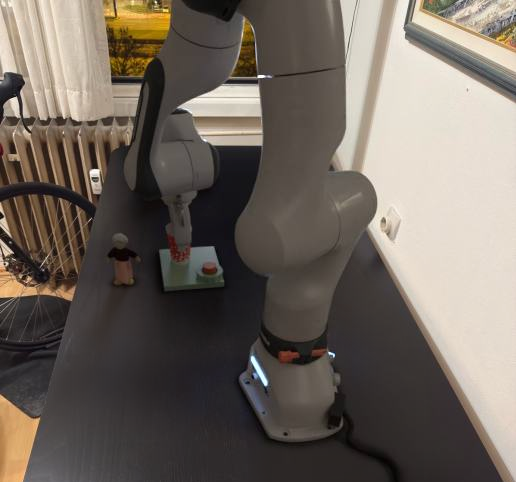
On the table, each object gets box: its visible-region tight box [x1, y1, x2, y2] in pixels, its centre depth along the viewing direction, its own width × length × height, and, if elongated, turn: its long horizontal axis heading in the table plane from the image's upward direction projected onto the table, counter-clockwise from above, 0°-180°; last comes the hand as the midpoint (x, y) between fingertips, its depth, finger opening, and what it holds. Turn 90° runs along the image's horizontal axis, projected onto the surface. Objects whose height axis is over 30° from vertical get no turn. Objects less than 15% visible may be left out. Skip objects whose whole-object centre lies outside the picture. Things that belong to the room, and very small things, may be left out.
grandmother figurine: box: [105, 232, 142, 286], centre depth 108 cm, size 8×4×13 cm, turn 105°
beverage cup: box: [165, 222, 193, 265], centre depth 113 cm, size 6×6×14 cm
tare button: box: [203, 261, 216, 275], centre depth 113 cm, size 3×3×2 cm
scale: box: [158, 245, 225, 292], centre depth 117 cm, size 16×14×3 cm
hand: (180, 241), depth 115 cm, fingers open, 6 cm apart
